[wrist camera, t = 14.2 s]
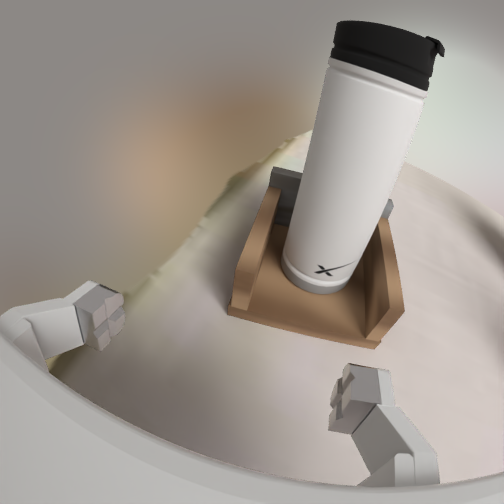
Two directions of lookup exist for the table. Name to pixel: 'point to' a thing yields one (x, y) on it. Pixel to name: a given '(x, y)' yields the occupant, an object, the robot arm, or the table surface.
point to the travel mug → (356, 149)
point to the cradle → (306, 303)
